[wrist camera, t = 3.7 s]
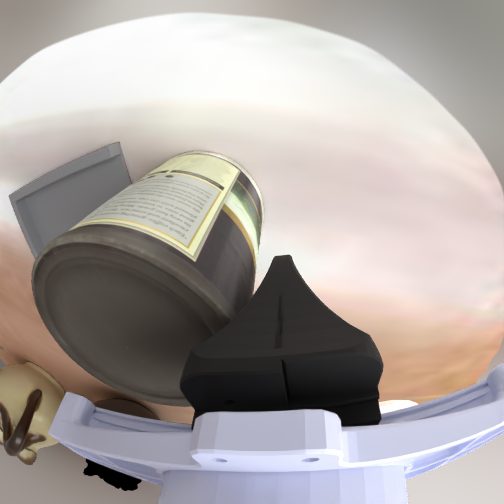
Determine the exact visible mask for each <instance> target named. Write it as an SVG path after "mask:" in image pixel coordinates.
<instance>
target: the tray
mask: <svg viewBox="0 0 504 504" xmlns="http://www.w3.org/2000/svg"><path fill="white" fill-rule="evenodd" d="M130 185H131V181H130V178H129V174H128V171H127V168H126V164H125V161H124V157H123V154H122V150H121V147H120V143H119V142H117V143H114V144H111V145H109V146H106V147H104V148H101V149H99V150H96V151H94V152H92V153H89V154H87V155H85V156H83V157H80V158H78V159H76V160H74V161H72V162H69V163H67V164H65V165H63V166H61V167H59V168H57V169H55V170H53V171H51V172H49V173H47V174H45V175H44V176H42V177H40V178H38V179H36V180H34V181H33V182H31V183H29V184H27V185H26V186H24V187H22V188H20V189H19V190H17V191H15V192H14V193H12V194H11V195H9V198H10V201H11V204H12V207H13V209H14V212H15V215H16V217H17V220H18V222H19V225H20V227H21V229H22V232H23V234H24V236H25V239H26V241H27V243H28V245H29V247H30V250H31V252H32V254H33V256H34V258H35V260H36V258H37V256H38V254H39V253H40V251H41V250H42V249H43V248H44V247H45V246H46V245H47V244H48V243H49V242H50V241H52V240H53V239H55V238H56V237H58V236H59V235H61V234H63V233H65V232H68V231H69V230H70V229H71V228H73V227H74V226H75V225H76V224H78V223H79V222H80V221H82V220H83V219H84V218H85V217H87V216H88V215H89V214H91V213H92V212H93V211H95V210H96V209H97V208H99V207H100V206H101V205H103V204H104V203H105V202H107V201H108V200H110V199H111V198H112V197H114V196H115V195H117V194H118V193H120V192H121V191H123V190H124V189H125V188H127V187H128V186H130Z"/></svg>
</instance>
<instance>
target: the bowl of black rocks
mask: <svg viewBox="0 0 504 504" xmlns="http://www.w3.org/2000/svg"><path fill="white" fill-rule="evenodd" d="M93 404H94V405H95V407H98V408H102V409H106V410H110V411H114V412H118V413H123V414H127V415H132V416H137V417H142V418H148V419H154V420H160V419H159V418H158V417H157V416H156V415H155V414H154V413H152V412H151V411H150V410H148V409H147V408H145V407H143V406H141V405H139V404H137V403H134V402H131V401H127V400H121V399H107V400H102V401H98V402H96V403H93ZM160 421H161V420H160ZM86 462H87V463H88V466H87V467H86V468H85V469H84V472H83V473H84V474H85V475H88V476H93V475H98V476H99V477H100V478H101V479H103V480H104V481H105V482H107V483H108V484H110V485H112V486H114V487H116V488H118V489H119V488H121V489H122V490H124V491H127V490H131V491H133V490H136V489H137V488H138V486H137V484H139V483H140V482H141V481H142V479H139V478H136V477H133V476H130V475H127V474H124V473H122V472H119V471H116V470H114V469H111V468H108V467H106V466H103V465H101V464H99V463H96V462H94V461H91V460H89V459H87V458H86Z"/></svg>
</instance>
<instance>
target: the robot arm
mask: <svg viewBox="0 0 504 504" xmlns="http://www.w3.org/2000/svg"><path fill="white" fill-rule="evenodd" d="M382 372H383V362H382V358H381V356H380V353H379V351H378V349H377V347H376V345H375V343H374V342H373V340H372V338H371V337H370V335H369V334H367V333H365V332H363V331H361V330H359V329H357V328H355V327H354V326H352V325H350V324H349V323H347V322H346V321H344V320H343V319H341V318H340V317H339V316H338V315H336V314H335V313H334V312H333V311H331V310H330V309H329V308H328V307H327V306H326V305H325V304H324V303H323V302H322V301H321V300H320V299H319V298H318V297H317V296H316V295H315V294H314V293H313V292H312V290H311V289H310V288H309V287H308V285H307V284H306V283H305V281H304V280H303V278H302V277H301V275H300V274H299V272H298V270H297V268H296V267H295V265H294V262H293V260H292V256H290V255H282V256H275V257H274V258H273V260H272V263H271V265H270V268H269V270H268V272H267V274H266V276H265V277H264V279H263V281H262V283H261V285H260V286H259V288H258V289H257V291H256V292H255V294H254V295H253V297H252V298H251V299H250V301H249V302H248V303H247V304H246V306H245V307H244V308H243V309H242V310H241V311H240V312H239V313H238V314H237V316H236V317H235V318H234V319H233V320H232V321H231V322H229V323H228V324H227V325H226V326H225V327H224V328H222V329H221V330H220V331H219V332H217V333H216V334H215V335H213V336H212V337H210V338H209V339H207V340H206V341H204V342H203V343H201V344H199V345H198V346H196V347H194V348H193V349H191V351H190V354H189V356H188V358H187V360H186V363H185V366H184V369H183V372H182V376H181V379H180V387H179V388H180V390H181V392H182V394H183V395H184V396H185V398H186V399H187V400H188V402H189V403H190V404H191V405H192V407H193V408H194V409H195V413H194V417H193V422H192V424H183V423H175V422H167V421H160V420H154V419H148V418H142V417H137V416H132V415H127V414H123V413H118V412H114V411H110V410H106V409H102V408H98V407H95V405H94V404H93V403H92V402H91V401H90V400H89V399H87V398H85V397H83V396H81V395H77V394H74V393H71V392H66V394H65V396H64V398H63V400H62V402H61V404H60V406H59V409H58V411H57V413H56V415H55V417H54V419H53V422H52V424H51V426H50V429H49V431H48V433H49V435H51V436H52V437H53V438H55V439H56V440H58V441H59V442H60V443H62V444H63V445H65V446H66V447H68V448H69V449H71V450H72V451H74V452H76V453H77V454H79V455H81V456H82V457H84V458H87V459H89V460H91V461H94V462H96V463H99V464H101V465H103V466H106V467H108V468H111V469H114V470H116V471H119V472H122V473H124V474H127V475H130V476H133V477H136V478H139V479H142V480H145V481H149V482H152V483H155V484H159V485H162V489H161V493H160V497H159V502H158V504H408V496H407V488H406V479H408V478H411V477H414V476H417V475H420V474H422V473H425V472H427V471H430V470H432V469H435V468H437V467H440V466H442V465H444V464H446V463H449V462H451V461H453V460H455V459H457V458H459V457H461V456H463V455H465V454H467V453H469V452H471V451H473V450H475V449H477V448H479V447H481V446H482V445H484V444H486V443H488V442H489V441H491V440H493V439H495V438H496V437H498V436H500V435H501V434H503V433H504V363H502V364H499V365H498V366H496V367H495V368H494V369H493V370H492V371H491V372H490V373H489V375H488V377H487V379H486V380H483V381H481V382H479V383H477V384H474V385H472V386H469V387H467V388H464V389H462V390H459V391H457V392H454V393H451V394H449V395H446V396H443V397H440V398H437V399H434V400H431V401H428V402H424V403H421V404H418V405H414V406H411V407H407V408H403V409H399V410H395V411H391V412H387V413H382V414H381V412H380V407H379V402H378V399H379V391H378V384H379V381H380V378H381V375H382Z"/></svg>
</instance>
